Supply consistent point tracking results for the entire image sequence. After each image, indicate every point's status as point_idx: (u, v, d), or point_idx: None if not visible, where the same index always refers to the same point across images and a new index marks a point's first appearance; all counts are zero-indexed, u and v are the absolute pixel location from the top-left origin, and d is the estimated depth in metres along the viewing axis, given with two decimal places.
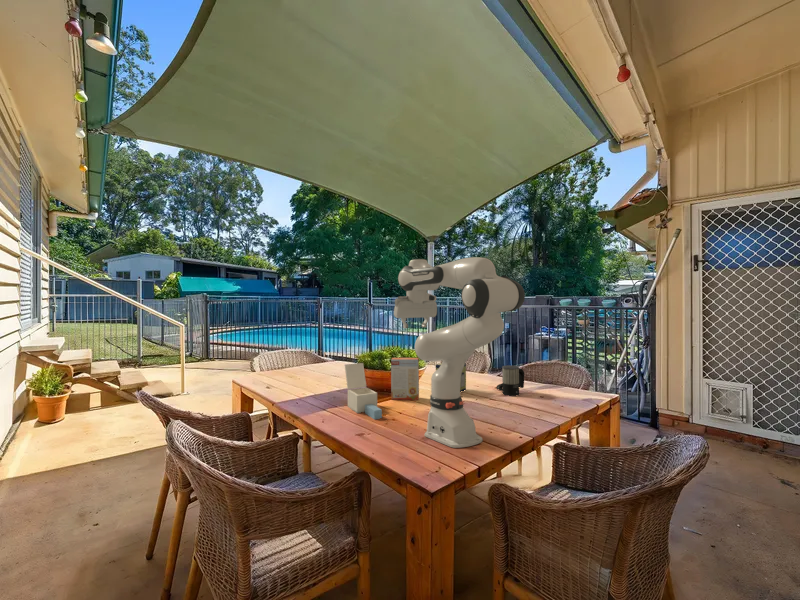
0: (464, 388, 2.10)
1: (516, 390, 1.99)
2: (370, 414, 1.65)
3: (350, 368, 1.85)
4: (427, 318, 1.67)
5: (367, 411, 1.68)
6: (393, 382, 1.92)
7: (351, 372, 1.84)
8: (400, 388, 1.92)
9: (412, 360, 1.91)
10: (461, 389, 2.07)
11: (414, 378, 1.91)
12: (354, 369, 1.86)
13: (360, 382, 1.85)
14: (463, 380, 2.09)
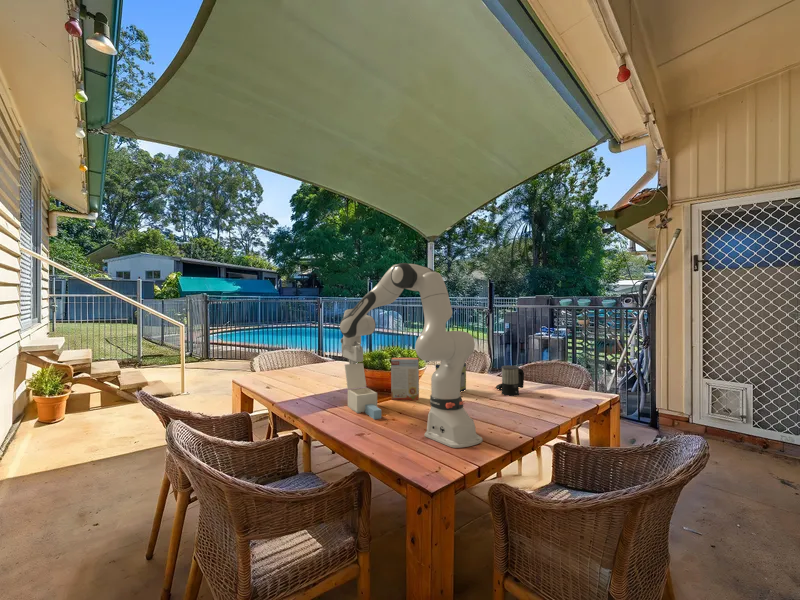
0: (464, 388, 2.10)
1: (516, 390, 1.99)
2: (370, 414, 1.65)
3: (350, 368, 1.85)
4: None
5: (367, 411, 1.68)
6: (393, 382, 1.92)
7: (351, 372, 1.84)
8: (400, 388, 1.92)
9: (412, 360, 1.91)
10: (461, 389, 2.07)
11: (414, 378, 1.91)
12: (354, 369, 1.86)
13: (360, 382, 1.85)
14: (463, 380, 2.09)
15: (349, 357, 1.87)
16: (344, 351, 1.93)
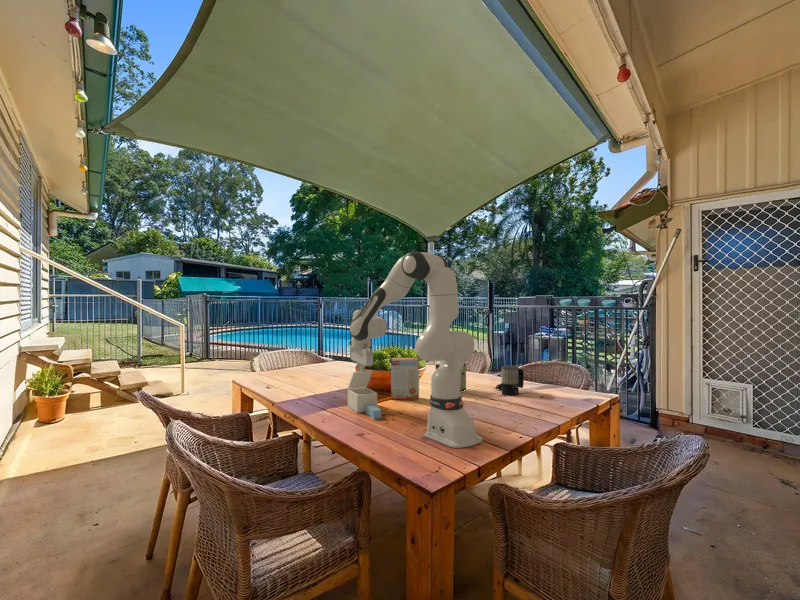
0: (464, 388, 2.10)
1: (515, 390, 1.99)
2: (370, 414, 1.65)
3: (357, 375, 1.76)
4: None
5: (367, 411, 1.68)
6: (393, 382, 1.92)
7: (357, 378, 1.78)
8: (400, 388, 1.92)
9: (412, 360, 1.91)
10: (461, 389, 2.07)
11: (414, 378, 1.91)
12: (361, 376, 1.78)
13: (362, 384, 1.83)
14: (463, 380, 2.09)
15: (358, 360, 1.77)
16: (352, 354, 1.83)
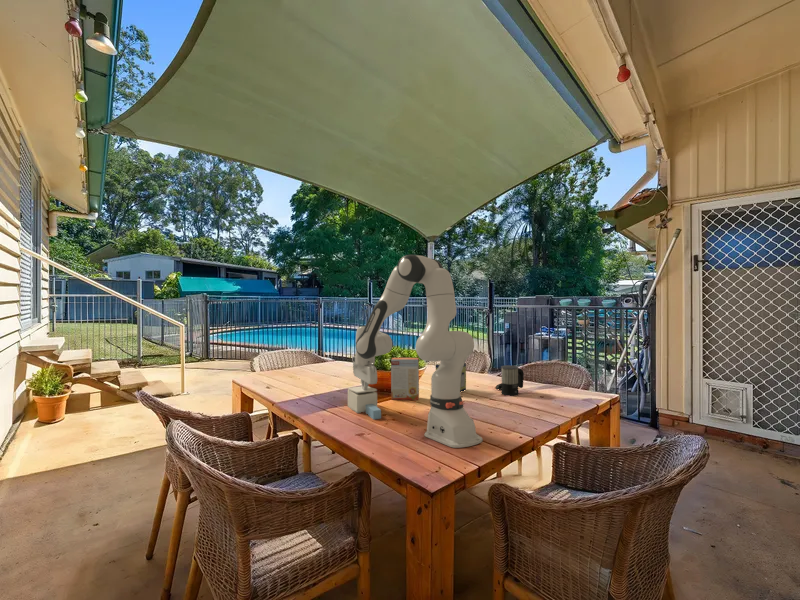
0: (464, 388, 2.10)
1: (515, 390, 1.99)
2: (370, 414, 1.65)
3: None
4: None
5: (367, 411, 1.68)
6: (393, 382, 1.92)
7: None
8: (400, 388, 1.92)
9: (412, 360, 1.91)
10: (461, 389, 2.07)
11: (414, 378, 1.91)
12: None
13: None
14: (463, 380, 2.09)
15: (361, 378, 1.73)
16: (356, 370, 1.79)
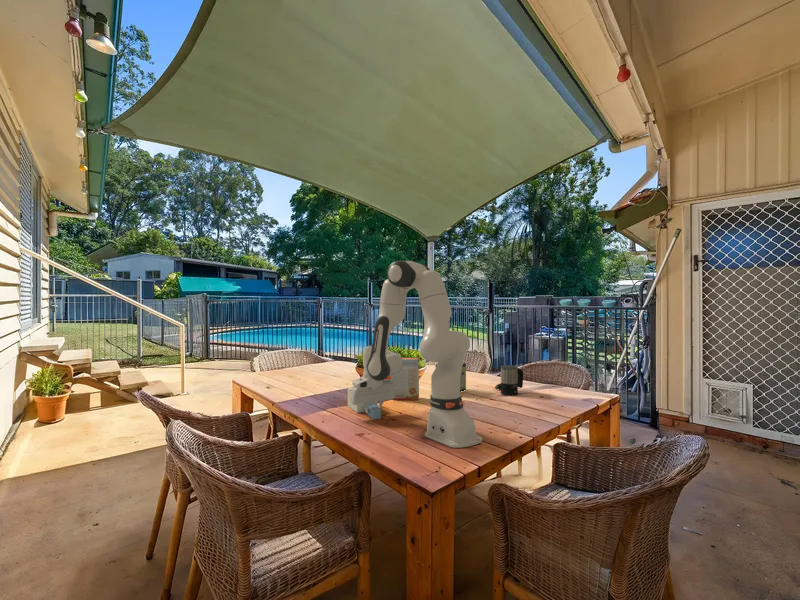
0: (464, 388, 2.10)
1: (515, 390, 2.00)
2: (370, 413, 1.65)
3: None
4: None
5: None
6: None
7: None
8: (400, 388, 1.92)
9: (412, 360, 1.91)
10: (461, 389, 2.07)
11: (414, 378, 1.91)
12: None
13: None
14: (463, 380, 2.09)
15: (376, 399, 1.66)
16: (361, 397, 1.62)
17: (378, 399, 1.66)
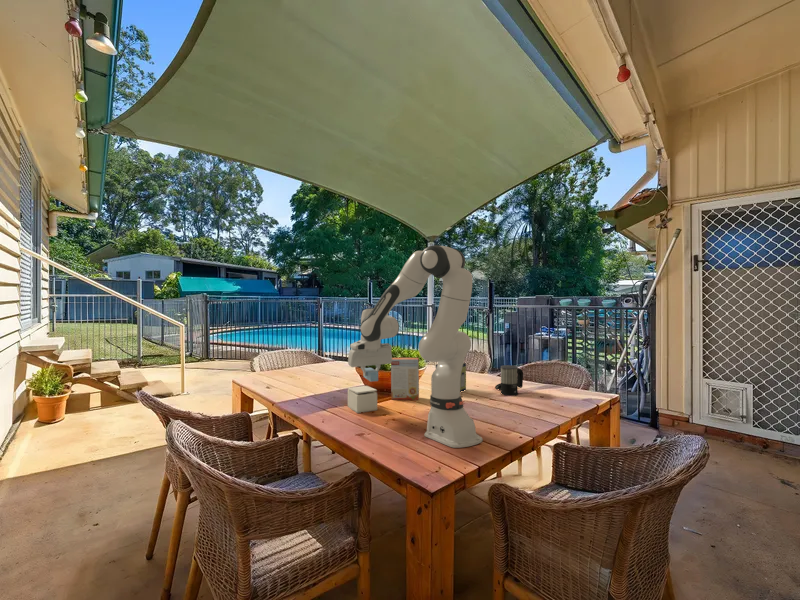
0: (464, 388, 2.10)
1: (514, 390, 2.00)
2: (367, 376, 1.67)
3: None
4: None
5: None
6: (393, 382, 1.92)
7: None
8: (400, 388, 1.92)
9: (412, 360, 1.91)
10: (461, 389, 2.07)
11: (414, 378, 1.91)
12: None
13: None
14: (463, 380, 2.09)
15: (373, 362, 1.67)
16: (358, 359, 1.64)
17: (376, 362, 1.68)
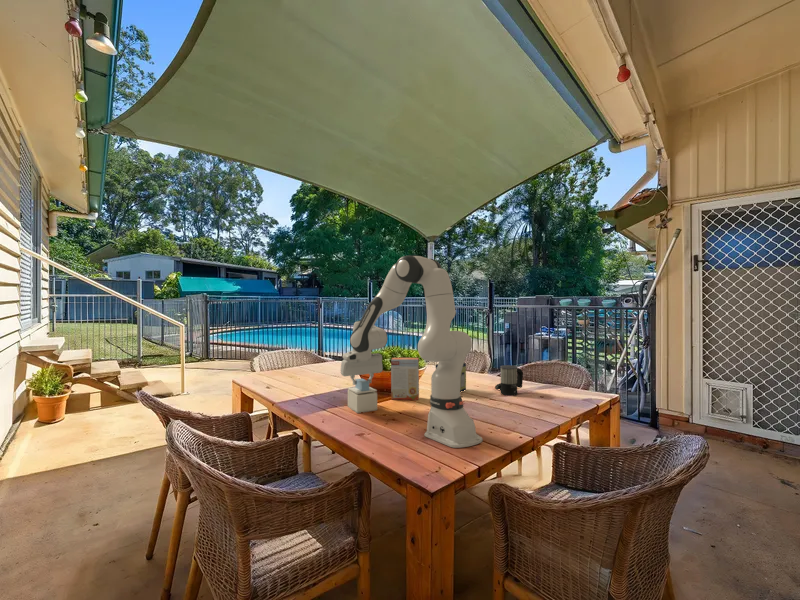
0: (464, 388, 2.10)
1: (514, 389, 2.00)
2: (359, 386, 1.76)
3: None
4: None
5: (357, 385, 1.79)
6: (393, 382, 1.92)
7: None
8: (400, 388, 1.92)
9: (412, 360, 1.91)
10: (461, 389, 2.07)
11: (414, 378, 1.91)
12: None
13: None
14: (463, 380, 2.09)
15: (365, 372, 1.76)
16: (350, 369, 1.73)
17: (367, 371, 1.77)
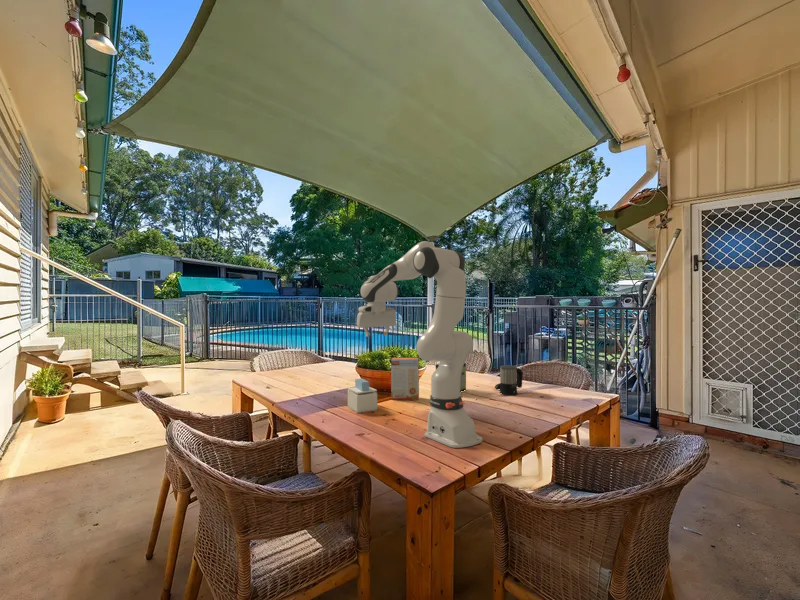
0: (464, 388, 2.10)
1: (514, 389, 2.00)
2: (359, 386, 1.76)
3: None
4: None
5: (357, 385, 1.79)
6: (393, 382, 1.92)
7: None
8: (400, 388, 1.92)
9: (412, 360, 1.91)
10: (461, 389, 2.07)
11: (414, 378, 1.91)
12: None
13: None
14: (463, 380, 2.09)
15: (379, 324, 1.85)
16: (366, 320, 1.82)
17: (381, 324, 1.86)
